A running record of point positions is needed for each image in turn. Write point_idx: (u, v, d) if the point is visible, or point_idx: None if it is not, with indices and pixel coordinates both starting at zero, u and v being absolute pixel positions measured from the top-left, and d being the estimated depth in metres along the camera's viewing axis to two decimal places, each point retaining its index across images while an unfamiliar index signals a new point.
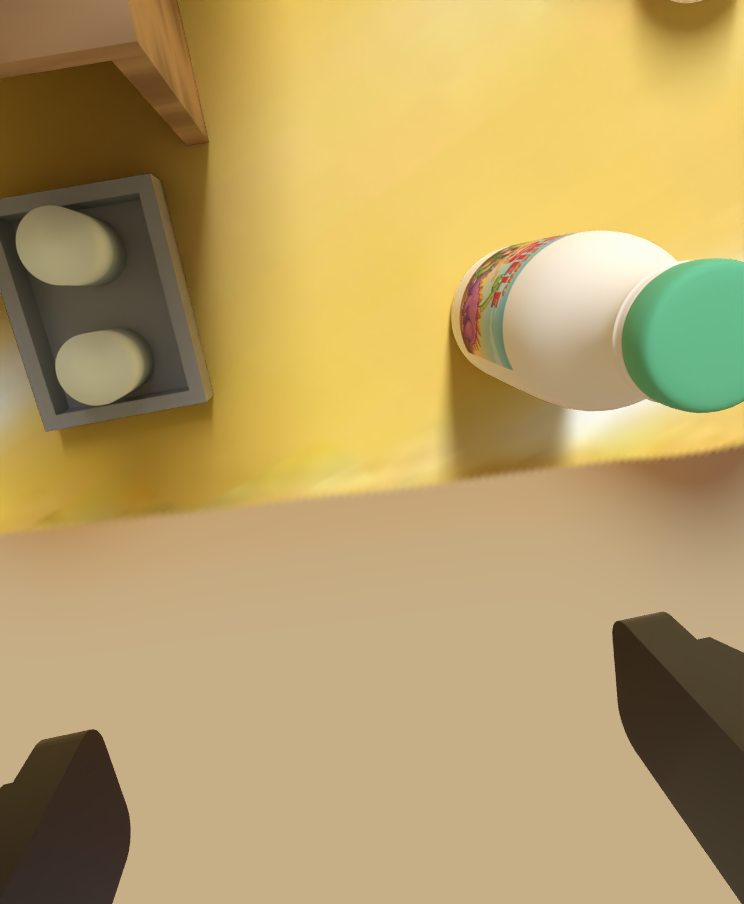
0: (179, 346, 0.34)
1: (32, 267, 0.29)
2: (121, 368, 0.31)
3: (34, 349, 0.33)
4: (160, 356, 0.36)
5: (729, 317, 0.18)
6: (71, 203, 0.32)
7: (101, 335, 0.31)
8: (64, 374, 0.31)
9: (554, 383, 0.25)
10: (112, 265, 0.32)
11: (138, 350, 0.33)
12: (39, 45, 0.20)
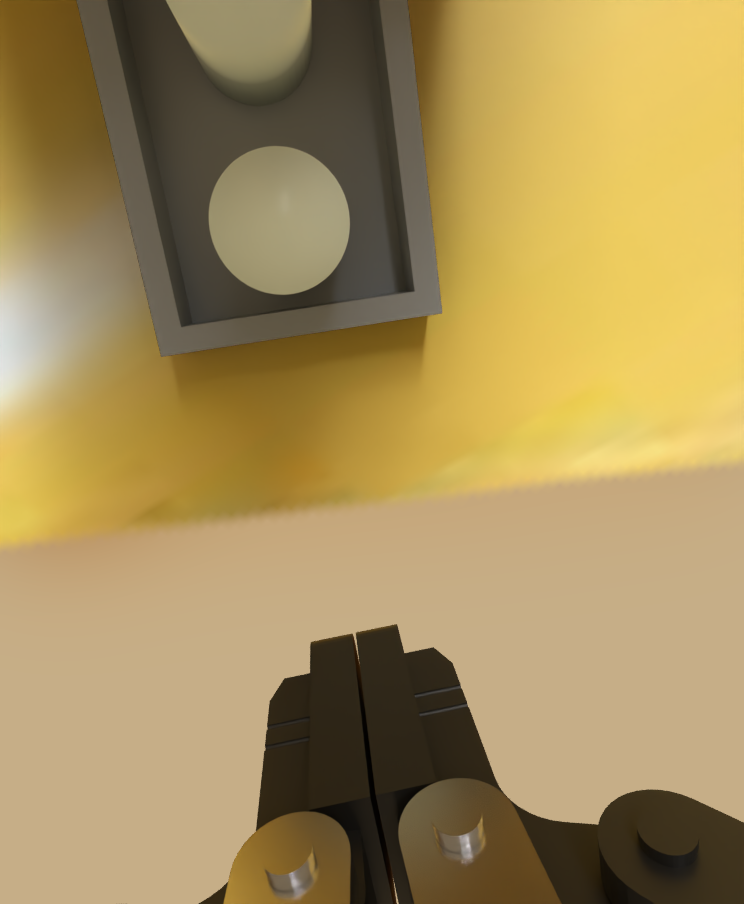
0: (407, 209, 0.19)
1: (181, 3, 0.15)
2: (333, 222, 0.16)
3: (151, 203, 0.18)
4: (352, 237, 0.21)
5: None
6: None
7: (302, 152, 0.16)
8: (224, 228, 0.16)
9: None
10: (305, 47, 0.17)
11: None
12: None
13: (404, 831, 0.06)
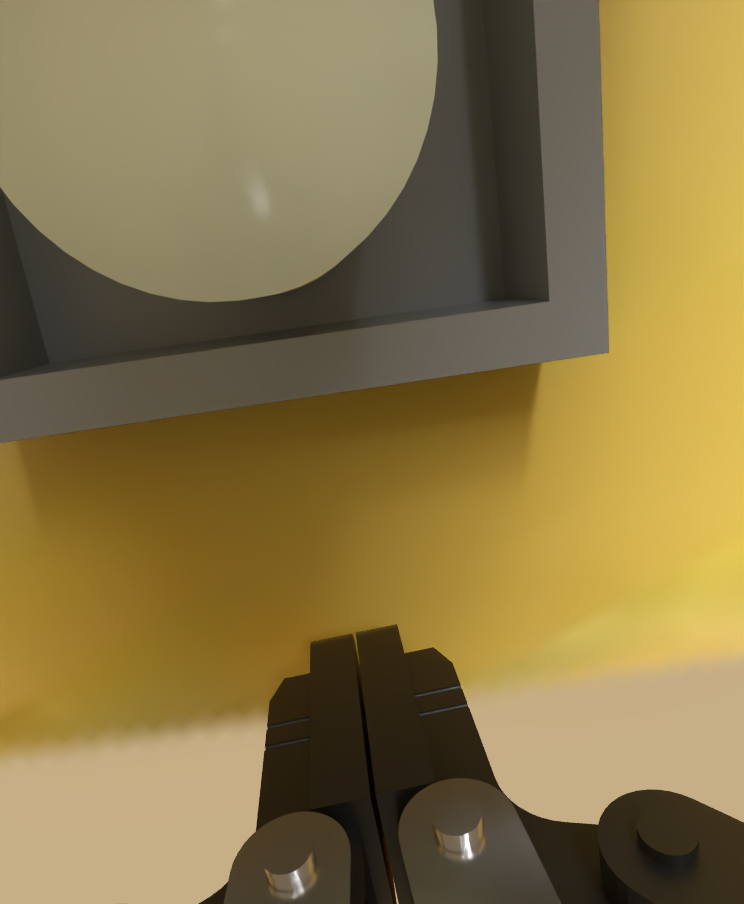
0: (544, 97, 0.08)
1: None
2: (381, 59, 0.05)
3: None
4: None
5: None
6: None
7: None
8: None
9: None
10: None
11: None
12: None
13: (404, 831, 0.06)
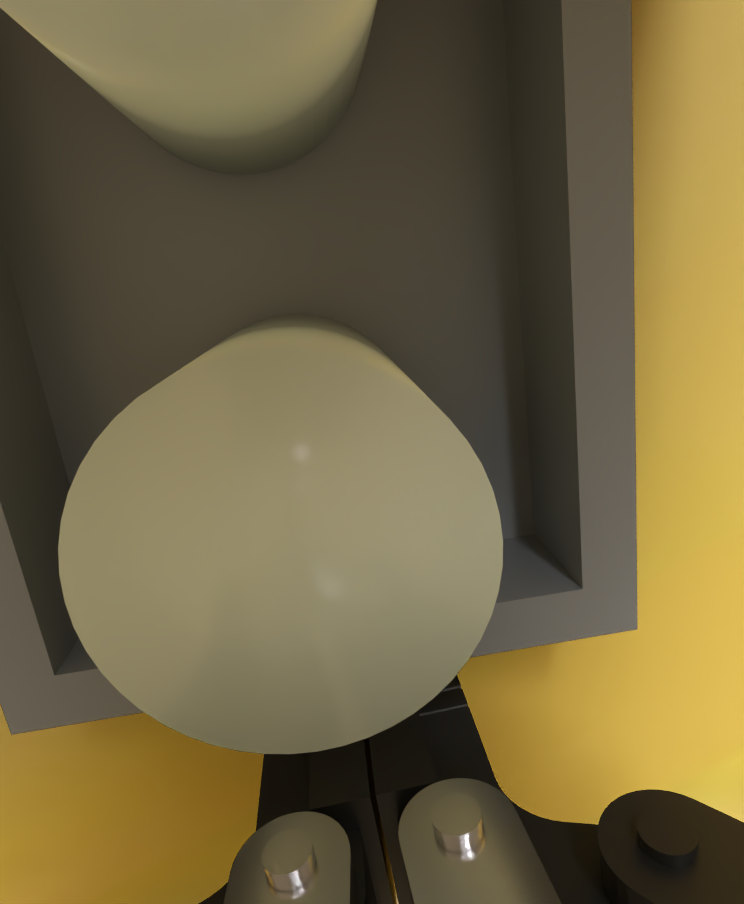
0: (582, 421, 0.08)
1: None
2: (452, 567, 0.05)
3: None
4: None
5: None
6: None
7: (367, 368, 0.05)
8: (112, 591, 0.05)
9: None
10: (360, 49, 0.07)
11: None
12: None
13: (404, 831, 0.06)
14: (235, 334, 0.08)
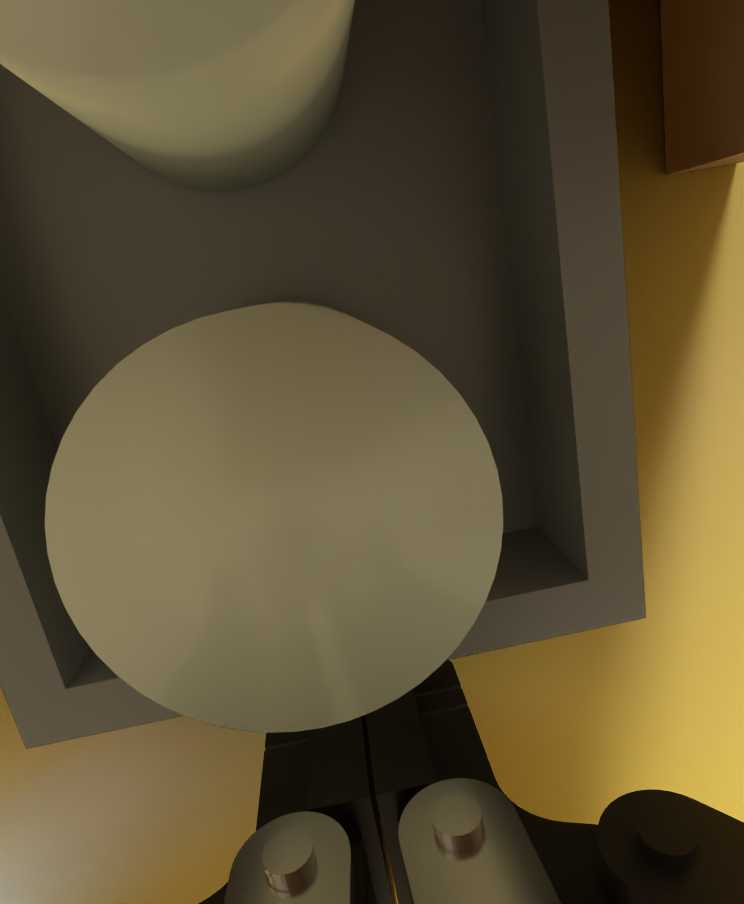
0: (579, 411, 0.08)
1: None
2: (451, 526, 0.05)
3: None
4: None
5: None
6: None
7: (352, 322, 0.05)
8: (102, 568, 0.05)
9: None
10: (338, 63, 0.07)
11: None
12: None
13: (404, 831, 0.06)
14: None
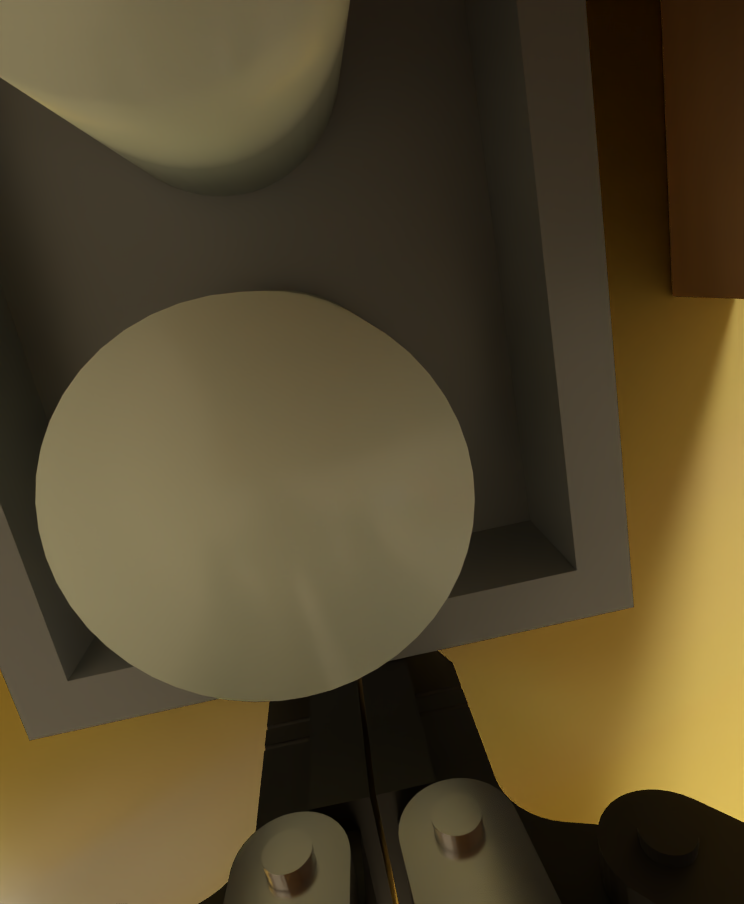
0: (565, 405, 0.08)
1: None
2: (424, 502, 0.05)
3: None
4: None
5: None
6: None
7: (324, 306, 0.05)
8: (91, 544, 0.05)
9: None
10: (331, 76, 0.07)
11: None
12: None
13: (404, 831, 0.06)
14: None
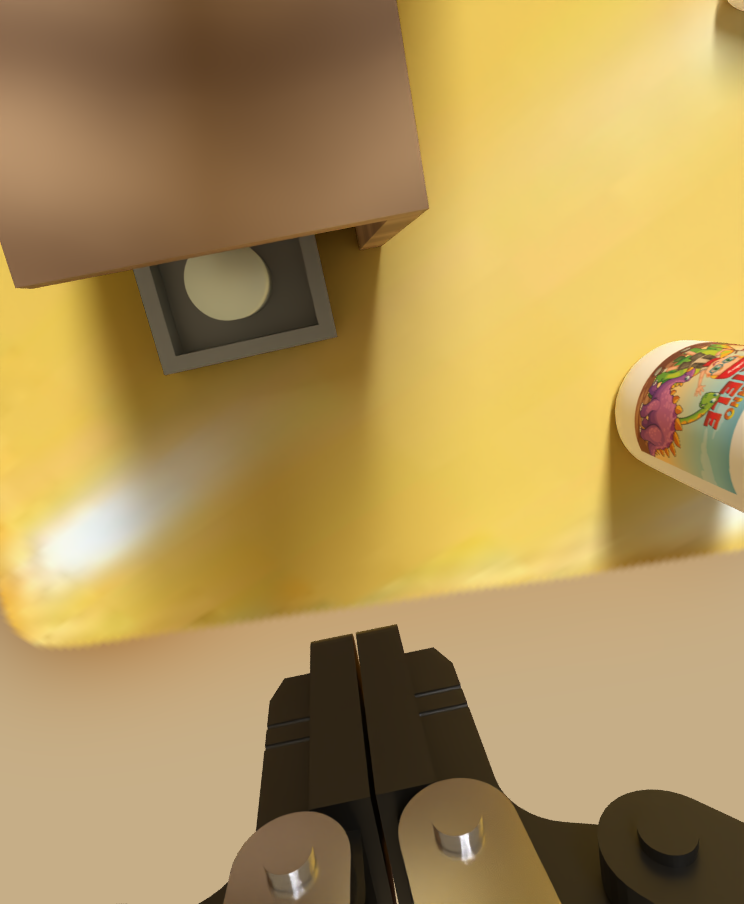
0: (308, 275, 0.31)
1: None
2: (255, 277, 0.28)
3: (153, 283, 0.30)
4: (281, 292, 0.33)
5: None
6: None
7: None
8: (193, 285, 0.28)
9: None
10: None
11: (264, 264, 0.30)
12: (332, 215, 0.19)
13: (404, 831, 0.06)
14: None
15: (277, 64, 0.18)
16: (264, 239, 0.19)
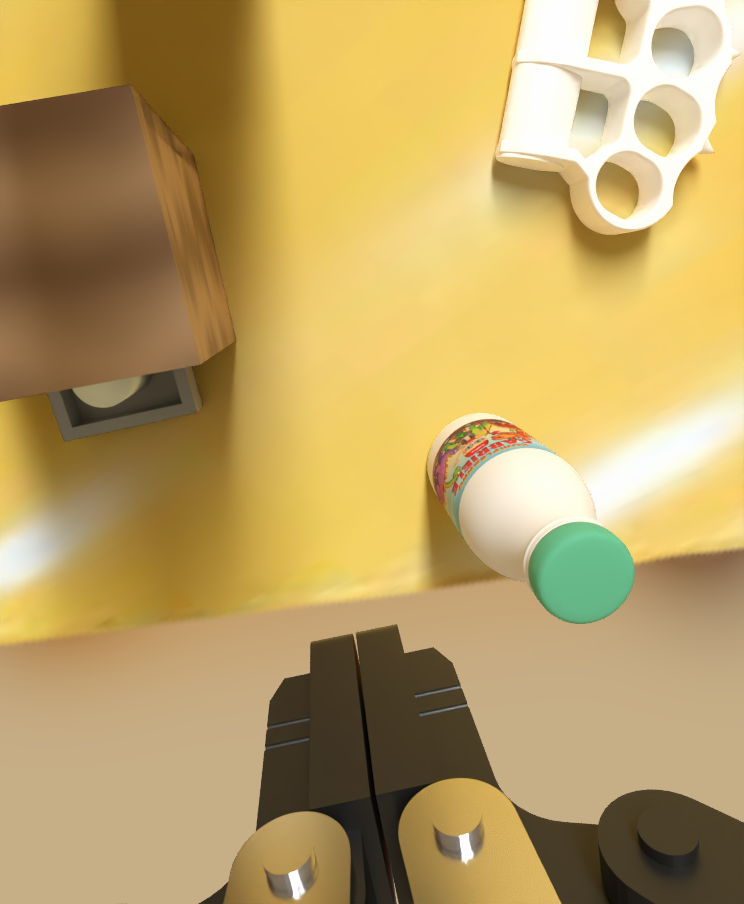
0: None
1: None
2: None
3: None
4: (157, 375, 0.43)
5: (594, 566, 0.28)
6: None
7: None
8: None
9: (493, 566, 0.34)
10: None
11: None
12: (134, 369, 0.29)
13: (404, 831, 0.06)
14: None
15: (91, 277, 0.28)
16: (89, 384, 0.29)
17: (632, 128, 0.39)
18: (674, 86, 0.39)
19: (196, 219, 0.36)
